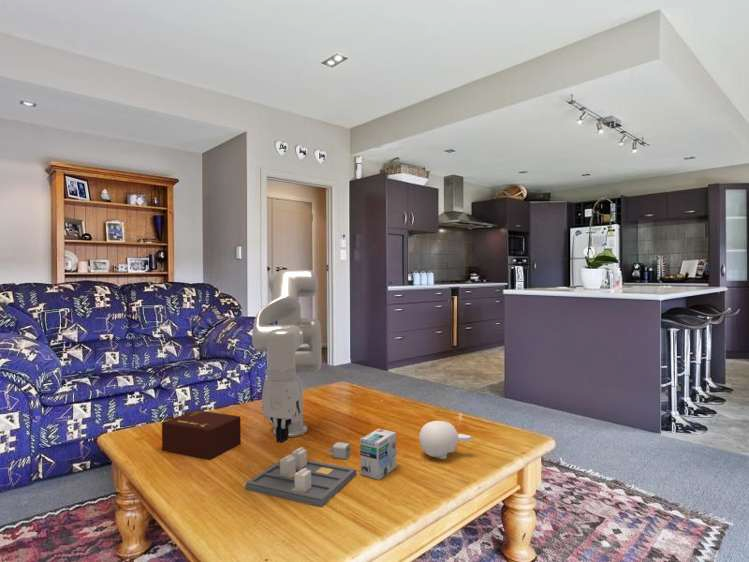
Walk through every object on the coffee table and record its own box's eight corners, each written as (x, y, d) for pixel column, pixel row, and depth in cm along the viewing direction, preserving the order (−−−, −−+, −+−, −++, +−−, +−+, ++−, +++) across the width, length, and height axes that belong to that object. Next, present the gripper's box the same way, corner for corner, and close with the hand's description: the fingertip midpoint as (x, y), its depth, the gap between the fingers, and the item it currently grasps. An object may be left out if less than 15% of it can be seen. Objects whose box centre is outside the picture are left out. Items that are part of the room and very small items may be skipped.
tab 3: (294, 490, 119) (294, 471, 119) (301, 485, 122) (301, 466, 122) (304, 492, 118) (304, 473, 118) (311, 487, 121) (311, 468, 121)
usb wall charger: (345, 460, 142) (345, 447, 142) (325, 457, 144) (325, 444, 144) (350, 455, 146) (350, 443, 146) (331, 452, 148) (330, 440, 148)
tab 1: (280, 475, 128) (279, 457, 128) (287, 470, 131) (286, 453, 131) (288, 477, 127) (288, 459, 127) (295, 472, 130) (295, 455, 130)
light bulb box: (379, 480, 127) (378, 442, 127) (359, 475, 131) (359, 438, 131) (397, 467, 136) (397, 431, 136) (378, 462, 140) (378, 427, 140)
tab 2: (292, 467, 133) (292, 450, 133) (298, 462, 137) (298, 446, 136) (300, 468, 132) (300, 451, 132) (306, 464, 135) (306, 447, 135)
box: (244, 442, 158) (243, 414, 158) (210, 460, 142) (209, 429, 142) (198, 435, 166) (197, 408, 166) (161, 451, 150) (161, 421, 150)
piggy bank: (429, 469, 138) (465, 462, 146) (438, 436, 135) (475, 431, 143) (407, 445, 148) (442, 440, 156) (415, 414, 145) (451, 410, 153)
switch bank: (245, 489, 123) (245, 482, 123) (287, 461, 141) (287, 455, 141) (321, 507, 113) (321, 500, 113) (356, 474, 131) (356, 468, 131)
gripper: (250, 375, 122) (251, 441, 122) (297, 380, 116) (297, 450, 116) (267, 369, 129) (268, 432, 129) (312, 374, 123) (313, 440, 123)
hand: (282, 440), depth 123 cm, fingers closed
